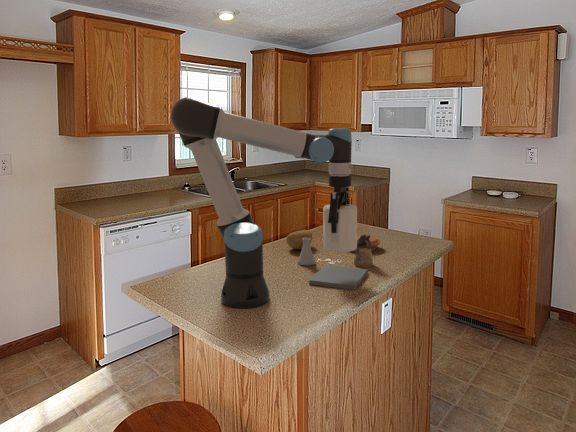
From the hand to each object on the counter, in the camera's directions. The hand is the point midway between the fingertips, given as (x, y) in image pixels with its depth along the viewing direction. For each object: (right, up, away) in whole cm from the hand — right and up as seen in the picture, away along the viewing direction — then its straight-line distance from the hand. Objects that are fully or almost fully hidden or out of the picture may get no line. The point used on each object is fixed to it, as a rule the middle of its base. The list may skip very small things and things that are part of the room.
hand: (339, 237), depth 167 cm
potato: (-13, -7, +42) cm, 45 cm away
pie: (+14, -7, +41) cm, 44 cm away
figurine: (+11, -11, +19) cm, 25 cm away
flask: (-11, -11, +21) cm, 26 cm away
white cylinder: (0, -3, +1) cm, 4 cm away
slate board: (0, -15, +3) cm, 15 cm away
